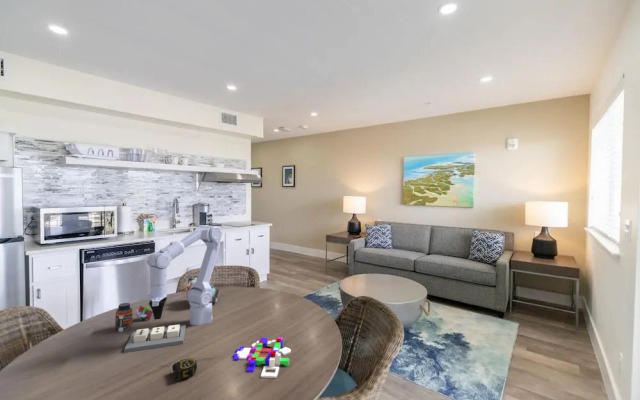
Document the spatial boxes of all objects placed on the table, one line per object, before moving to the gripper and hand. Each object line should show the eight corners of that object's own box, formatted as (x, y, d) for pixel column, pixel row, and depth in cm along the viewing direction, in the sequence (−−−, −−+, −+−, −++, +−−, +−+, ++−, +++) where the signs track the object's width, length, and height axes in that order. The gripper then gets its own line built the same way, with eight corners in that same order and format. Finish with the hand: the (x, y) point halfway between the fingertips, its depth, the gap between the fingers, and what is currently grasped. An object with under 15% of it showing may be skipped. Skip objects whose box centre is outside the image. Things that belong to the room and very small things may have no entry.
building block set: (243, 339, 119) (243, 328, 119) (294, 341, 119) (294, 330, 119) (221, 377, 94) (222, 363, 94) (285, 379, 94) (286, 365, 94)
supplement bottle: (123, 335, 120) (124, 307, 120) (111, 333, 121) (111, 306, 121) (135, 328, 126) (135, 302, 126) (123, 327, 127) (124, 301, 127)
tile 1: (164, 335, 118) (164, 325, 118) (162, 342, 113) (162, 332, 113) (153, 336, 117) (153, 327, 117) (150, 343, 111) (150, 333, 111)
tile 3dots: (148, 337, 116) (148, 327, 116) (145, 344, 111) (146, 334, 111) (136, 338, 115) (137, 329, 115) (133, 346, 109) (133, 336, 109)
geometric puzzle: (160, 313, 138) (150, 299, 138) (150, 318, 131) (140, 304, 132) (148, 321, 138) (139, 307, 139) (138, 327, 132) (128, 312, 132)
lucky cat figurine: (216, 307, 152) (201, 283, 146) (191, 317, 151) (176, 293, 146) (222, 288, 167) (209, 266, 162) (199, 297, 167) (186, 275, 162)
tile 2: (179, 333, 120) (179, 324, 120) (178, 339, 115) (178, 330, 115) (168, 334, 119) (168, 325, 119) (166, 341, 113) (166, 331, 113)
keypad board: (185, 330, 125) (185, 325, 125) (183, 346, 112) (183, 340, 112) (133, 337, 118) (133, 331, 118) (124, 355, 105) (124, 348, 105)
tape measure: (171, 372, 96) (172, 361, 96) (194, 366, 100) (194, 355, 100) (175, 384, 90) (175, 372, 90) (198, 376, 94) (199, 365, 94)
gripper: (149, 279, 120) (149, 312, 120) (142, 290, 106) (142, 327, 107) (169, 277, 122) (168, 310, 123) (164, 288, 109) (164, 324, 109)
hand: (157, 318), depth 115 cm, fingers closed
